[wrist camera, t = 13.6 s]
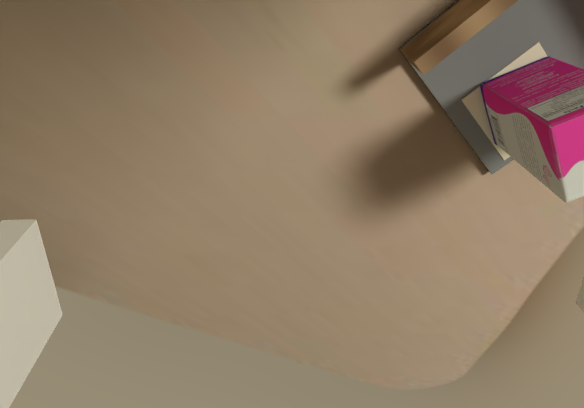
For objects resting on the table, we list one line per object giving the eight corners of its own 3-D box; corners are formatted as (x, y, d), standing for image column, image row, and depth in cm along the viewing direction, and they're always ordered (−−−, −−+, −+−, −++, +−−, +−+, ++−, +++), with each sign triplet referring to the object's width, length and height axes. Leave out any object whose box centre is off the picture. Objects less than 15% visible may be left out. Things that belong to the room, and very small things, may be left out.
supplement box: (563, 117, 42) (655, 173, 32) (493, 144, 43) (560, 207, 33) (551, 52, 40) (646, 90, 29) (477, 82, 41) (544, 129, 30)
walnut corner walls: (586, -106, 35) (631, -113, 31) (663, 50, 40) (711, 63, 36) (398, 48, 40) (414, 62, 35) (489, 171, 45) (512, 196, 41)
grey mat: (586, -106, 35) (592, -107, 35) (663, 50, 40) (669, 52, 40) (398, 48, 40) (400, 50, 39) (489, 171, 45) (492, 174, 44)
